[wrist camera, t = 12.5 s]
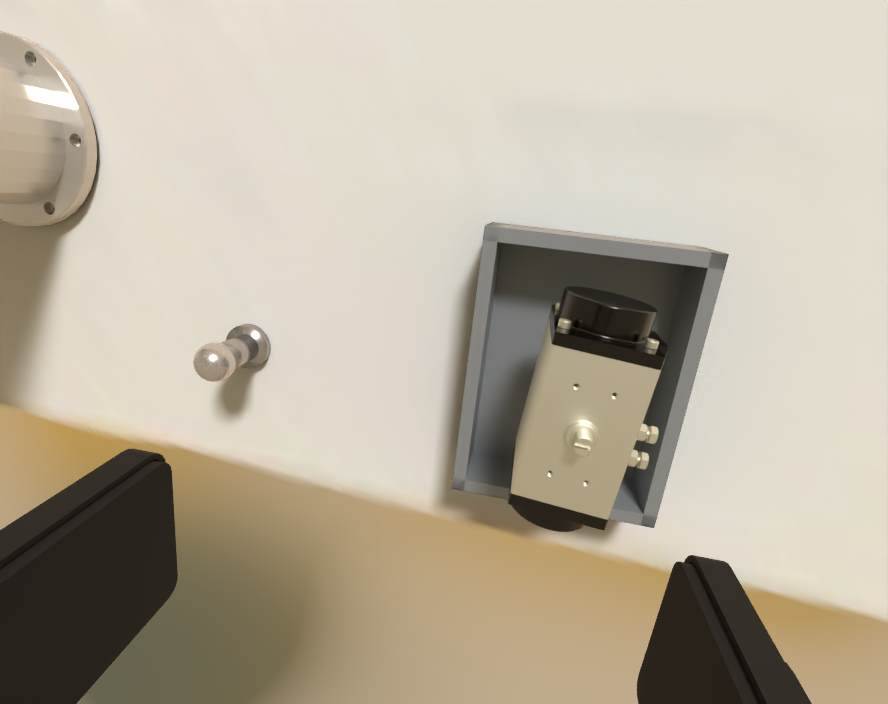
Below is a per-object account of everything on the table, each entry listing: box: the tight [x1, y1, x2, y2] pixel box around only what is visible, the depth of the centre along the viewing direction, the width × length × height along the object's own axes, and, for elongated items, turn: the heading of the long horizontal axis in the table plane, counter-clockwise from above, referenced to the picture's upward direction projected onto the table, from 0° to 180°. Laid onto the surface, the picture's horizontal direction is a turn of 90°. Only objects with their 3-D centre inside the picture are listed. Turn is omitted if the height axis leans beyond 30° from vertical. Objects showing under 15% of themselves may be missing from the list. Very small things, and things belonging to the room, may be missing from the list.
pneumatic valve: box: [508, 286, 669, 532], centre depth 27 cm, size 6×12×12 cm, turn 169°
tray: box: [452, 222, 729, 528], centre depth 31 cm, size 13×17×5 cm
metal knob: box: [193, 324, 270, 382], centre depth 35 cm, size 3×3×6 cm
